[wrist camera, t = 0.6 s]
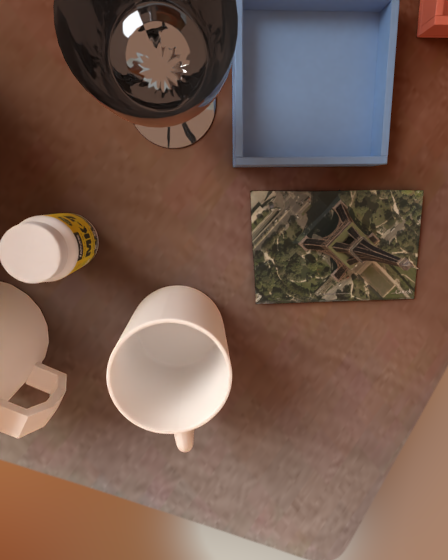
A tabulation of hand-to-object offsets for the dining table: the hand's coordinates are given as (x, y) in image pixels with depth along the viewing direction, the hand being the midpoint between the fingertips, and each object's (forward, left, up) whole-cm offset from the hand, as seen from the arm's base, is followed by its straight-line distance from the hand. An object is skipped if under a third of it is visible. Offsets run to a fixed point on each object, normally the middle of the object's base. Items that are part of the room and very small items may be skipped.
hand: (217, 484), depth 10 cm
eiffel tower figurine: (-3, +12, -25) cm, 28 cm away
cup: (+6, -2, -25) cm, 26 cm away
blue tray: (-16, +9, -25) cm, 31 cm away
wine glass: (-15, -2, -25) cm, 29 cm away
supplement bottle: (-4, -11, -25) cm, 28 cm away
